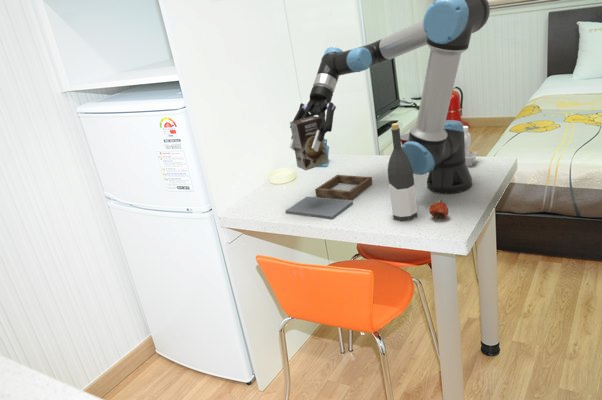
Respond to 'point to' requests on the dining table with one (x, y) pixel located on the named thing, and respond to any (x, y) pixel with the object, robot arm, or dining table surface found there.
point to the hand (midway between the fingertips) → (303, 149)
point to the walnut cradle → (327, 191)
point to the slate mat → (319, 207)
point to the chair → (327, 154)
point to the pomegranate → (438, 210)
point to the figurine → (468, 155)
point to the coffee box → (308, 143)
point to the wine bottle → (401, 181)
